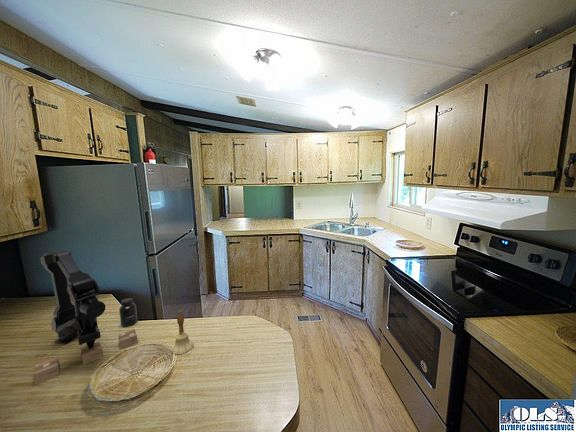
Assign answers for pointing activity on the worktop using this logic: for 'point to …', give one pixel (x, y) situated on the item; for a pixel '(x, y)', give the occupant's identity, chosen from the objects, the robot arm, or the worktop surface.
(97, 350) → the plain walnut block
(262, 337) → the worktop surface
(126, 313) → the supplement bottle
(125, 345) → the two-pip walnut block
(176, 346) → the hand bell
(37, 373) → the one-pip walnut block
